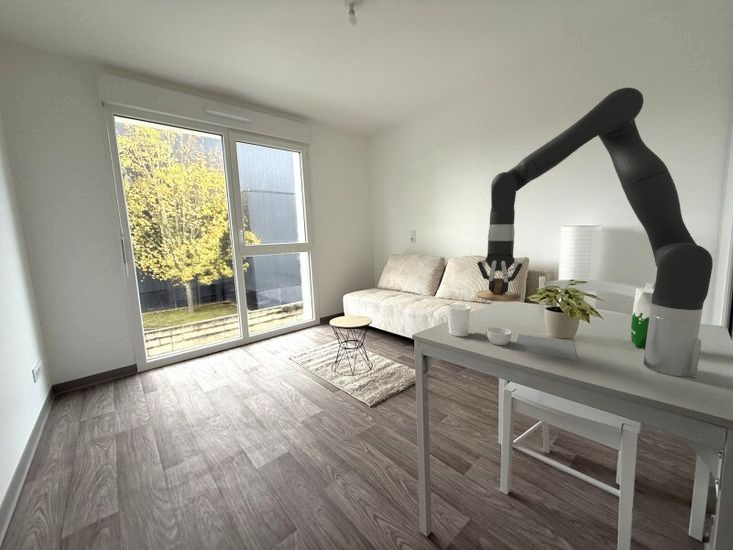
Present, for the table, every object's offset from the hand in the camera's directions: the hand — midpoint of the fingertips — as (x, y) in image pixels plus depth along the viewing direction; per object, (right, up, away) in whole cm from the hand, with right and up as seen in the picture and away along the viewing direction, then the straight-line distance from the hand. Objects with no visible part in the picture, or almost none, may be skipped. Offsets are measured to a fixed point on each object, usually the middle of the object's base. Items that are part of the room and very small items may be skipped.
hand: (498, 292), depth 97 cm
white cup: (-9, -16, +12) cm, 22 cm away
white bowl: (+1, -17, +1) cm, 17 cm away
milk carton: (+46, -17, -3) cm, 50 cm away
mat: (+14, -17, -2) cm, 22 cm away
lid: (0, -1, 0) cm, 2 cm away
